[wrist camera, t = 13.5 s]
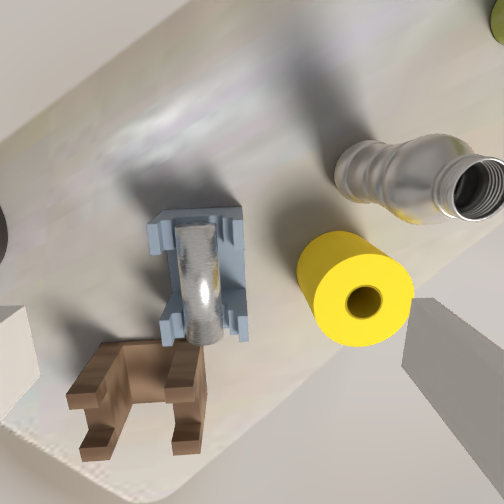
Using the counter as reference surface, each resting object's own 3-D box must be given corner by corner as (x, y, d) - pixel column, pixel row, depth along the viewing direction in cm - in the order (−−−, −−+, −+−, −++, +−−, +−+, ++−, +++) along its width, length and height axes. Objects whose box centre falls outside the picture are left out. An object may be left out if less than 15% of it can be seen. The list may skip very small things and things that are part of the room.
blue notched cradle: (175, 311, 42) (162, 346, 34) (164, 209, 38) (146, 224, 30) (246, 307, 42) (248, 341, 34) (241, 206, 38) (243, 220, 31)
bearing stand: (207, 393, 46) (200, 453, 37) (113, 399, 45) (82, 461, 36) (202, 337, 43) (193, 386, 34) (101, 342, 43) (65, 394, 34)
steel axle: (179, 222, 34) (169, 231, 30) (218, 220, 34) (213, 229, 30) (189, 326, 37) (182, 346, 33) (225, 325, 37) (222, 345, 33)
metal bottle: (318, 182, 38) (401, 213, 19) (352, 128, 36) (480, 103, 17) (362, 210, 39) (482, 266, 20) (397, 159, 38) (563, 168, 18)
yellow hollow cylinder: (280, 263, 41) (293, 295, 32) (348, 214, 39) (381, 233, 30) (324, 319, 43) (348, 363, 34) (389, 275, 42) (431, 309, 33)
